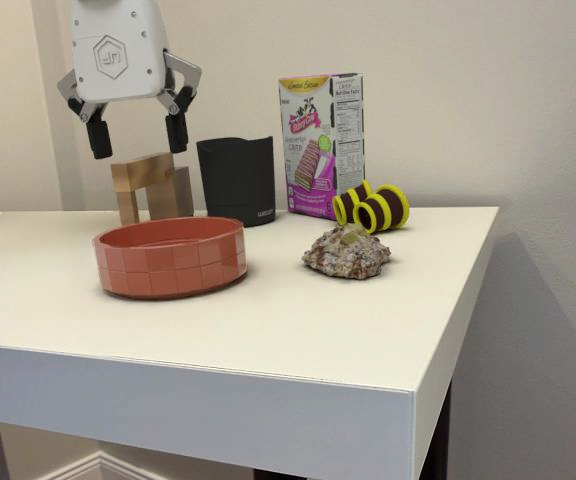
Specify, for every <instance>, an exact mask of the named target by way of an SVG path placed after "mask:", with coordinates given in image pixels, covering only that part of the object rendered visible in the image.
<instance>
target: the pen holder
mask: <svg viewBox="0 0 576 480" xmlns="http://www.w3.org/2000/svg"><path fill="white" fill-rule="evenodd" d="M195 146H196V151H197V158H198V166H199V170H200V178H201V183H202V190H203V197H204V203H205V208H206V214H207V217H208V216H209V217H225V218H231V219H236V220H238V221H240V222H242V223H243V226H244V228H248V227H255V226H260V225H264V224H265V225H266V224H268V223H271V222H272V221H274V220H275V218H276V216H277V205H276V177H275V176H276V175H275V156H274V155H275V154H274V136H273V135H269V136H266V137H263V138H257V139H247V138H242V137H237V136H226V137H217V138H209V139H203V140H198V141H196V142H195Z"/></svg>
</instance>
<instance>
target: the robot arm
mask: <svg viewBox="0 0 576 480" xmlns="http://www.w3.org/2000/svg"><path fill="white" fill-rule="evenodd" d="M69 33H70V34H69V35H70V45H71V54H72V62H73V68H72V69H71V70H70V71H69V72H68V73H67V74H65V76H64V77H62V78H61V79H60V80H59V81H58V82H57V84H56V88H57V90H58V92H59V93H60V94H61V96H62V97H63V99H64V100H65V102H67V107H68V108H69V109H70V110H71V111H72V112H73V113H74V114H76V116H78V117H79V120H80V122H81V123H83V124H85V127H86V133H87V138H88V142H89V146H90V150H91V151H92V155H93V158H94V160H97V161H98V160H105V159H107V158H111V157H112V156H114V152H113V147H112V141H111V136H110V132H109V127H108V122H107V120H103V119H102V117H103V115H104V114H105V111H106V109H107V107H108V104H109V103H113V102H123V101H134V100H145V99H152V98H155V99H156V100H157V101H158V102H159V103H160V104H161V105H162V106H163V107H164V108H165V110H166V111H167V113H168V114H167V115H165V117H164V122H165V128H166V134H167V140H168V147H169V152H171V153H172V154H173V155H178V154H181V153H184V152H187V151H188V144H189V134H188V133H189V132H188V126H187V120H186V114H187V113H188V111H189V107H190V106H191V104H192V102H193V101H194V99H195V98H196V97H197V95H198V92H197V90H198V87H199V85H200V82H201V77H202V73H203V70H202V67H201V66H198V65H196V64H195V63H193V62H190V61H188V60H186V59H184V58H182V57H179V56H177V55H175V54H173V53H172V52H171V51H172V50H171V46H170V43H169V38H168V34H167V31H166V27H165V23H164V19H163V16H162V13H161V10H160V7H159V4H158V1H157V0H73V1H69ZM175 72H177V73H178V74H179V73H180V74H181V75H182V76H183V78H184V79H183V85H182V87H181V88H180V90H179V92H177V91H176V90H175V89H176V86H177V85H176V84H177V83H176V74H175ZM77 90H78V91H77Z"/></svg>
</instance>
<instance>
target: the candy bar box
mask: <svg viewBox="0 0 576 480" xmlns="http://www.w3.org/2000/svg"><path fill="white" fill-rule="evenodd" d="M363 75H364V74H363V72H344V73H343V72H342V73H327V74H311V75H299V76H291V77H282V78H278V79H277V82H278V93H279V94H278V96H279V108H280V109H279V110H280V121H281V123H280V124H281V135H282V144H283V160H284V174H285V185H286V200H287V202H286V203H287V211H288V212H292V213H298V214H301V215H306V216H307V215H308V216H312V217H317V218H322V219H328V220H334V221H337V218H336V215H335V212H334V208H333V197H334V196H339V197H340V196H341V194H345V193H346V191H347V190H349V189H351V188H353V189H354V188H356V187H358V186H360V185H361V182H362V181H363V180H366V165H365V164H366V163H365V162H366V160H365V158H366V157H365V125H364V124H365V121H364V119H365V118H364V84H363V83H364V82H363V81H364V80H363Z"/></svg>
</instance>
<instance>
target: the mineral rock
mask: <svg viewBox="0 0 576 480" xmlns="http://www.w3.org/2000/svg"><path fill="white" fill-rule="evenodd" d="M310 246H311V247H310V248H311V249H307V250H305V251H304V252H303V255H302V256H301V260H302V261H303V264H305V265H307V266H310V267H311V268H312V269H314V270H320V271H321V273H323V274H327V275H328V276H330V277H331V276H334V277H335V276H336V277H345V278H347V279H357V280H361V281H362V280H365V279H366V278H367V277H372V276H376V275H378V274H380V272H381V270H382V267H381V265H382V264H385V263H387V262H388V260H389V258H390V256H391V254H392V252H391V249H390V246H385V245H384V244H382V243H381V240H380V239H379V237H378V236H373V235H371V234H369V233H367V231H366V230H365V228H364V227H363V225H362V224H355V223H354V222H352V223H346V225H340V224H339V225H338V226H337V225H336V226H335V227H333V229H330V230H328V231H325V232H323V234H322V235H321V236H320V237H318V238H317V239H316V240H315V241H314V242H313V243H312V244H311V245H310Z"/></svg>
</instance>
